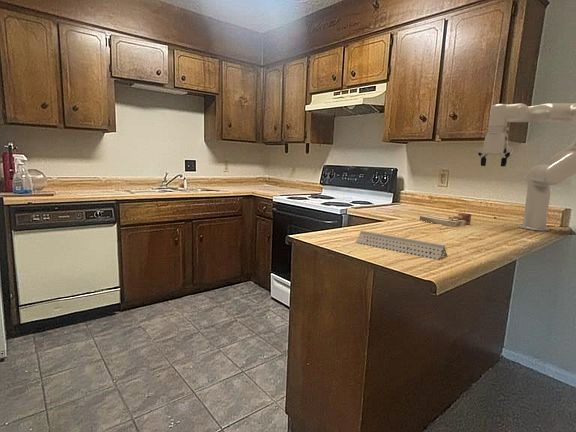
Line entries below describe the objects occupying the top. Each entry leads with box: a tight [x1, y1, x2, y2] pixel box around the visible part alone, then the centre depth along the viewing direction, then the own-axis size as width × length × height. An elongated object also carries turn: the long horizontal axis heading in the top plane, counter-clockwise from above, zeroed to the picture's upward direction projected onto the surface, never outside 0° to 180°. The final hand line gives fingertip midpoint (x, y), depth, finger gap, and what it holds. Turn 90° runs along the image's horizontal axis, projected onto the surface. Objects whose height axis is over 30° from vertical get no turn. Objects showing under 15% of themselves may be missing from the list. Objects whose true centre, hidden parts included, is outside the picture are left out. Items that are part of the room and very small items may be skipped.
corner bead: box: [354, 230, 448, 261], centre depth 125 cm, size 31×9×5 cm, turn 47°
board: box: [419, 214, 467, 228], centre depth 186 cm, size 10×20×3 cm, turn 32°
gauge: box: [447, 212, 472, 226], centre depth 181 cm, size 15×4×6 cm, turn 122°
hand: (492, 166), depth 175 cm, fingers open, 9 cm apart
